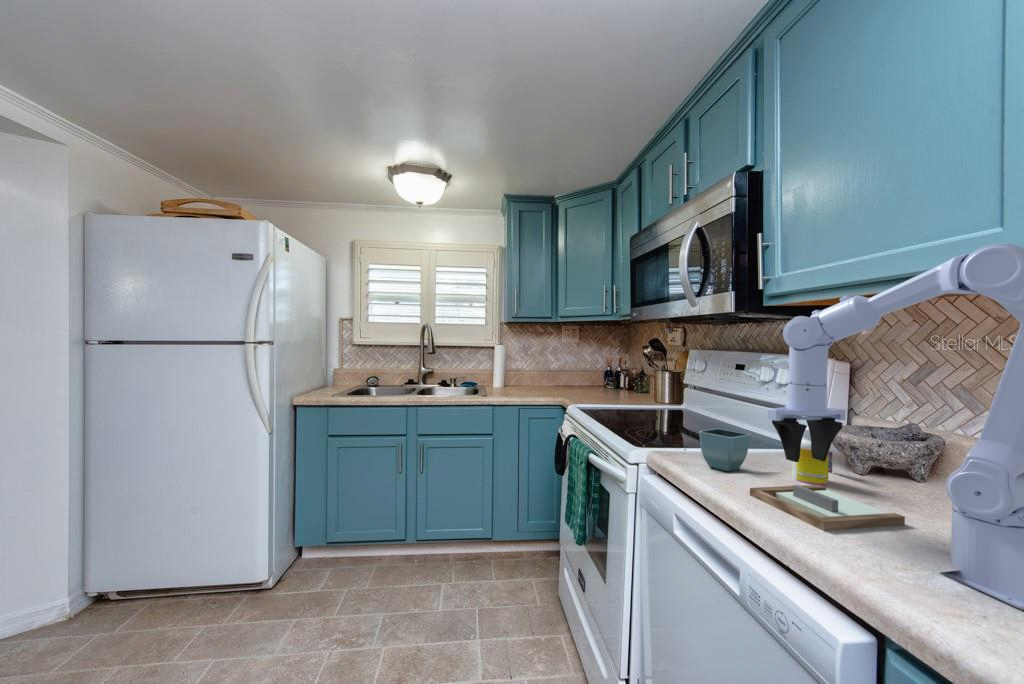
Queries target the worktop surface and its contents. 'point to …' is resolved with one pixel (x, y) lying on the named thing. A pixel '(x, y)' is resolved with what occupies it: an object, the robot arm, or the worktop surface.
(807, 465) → the supplement bottle
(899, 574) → the worktop surface
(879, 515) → the wooden box
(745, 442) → the flower pot
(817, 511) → the cover plate
